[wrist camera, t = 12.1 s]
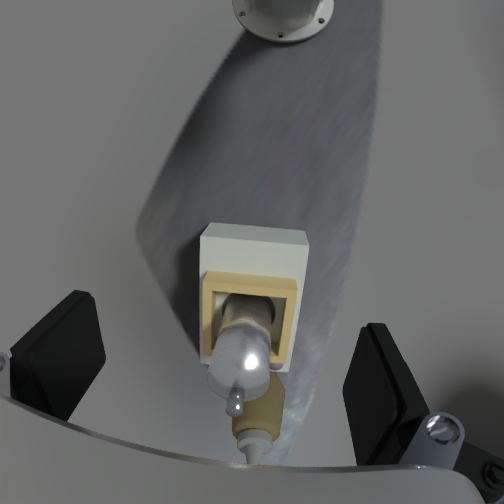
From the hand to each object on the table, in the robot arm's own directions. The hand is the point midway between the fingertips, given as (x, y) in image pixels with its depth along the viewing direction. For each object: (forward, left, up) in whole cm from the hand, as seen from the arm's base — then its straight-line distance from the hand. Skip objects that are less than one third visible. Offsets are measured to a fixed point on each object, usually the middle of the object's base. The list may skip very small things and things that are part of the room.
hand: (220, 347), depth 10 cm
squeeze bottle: (+29, +3, -31) cm, 42 cm away
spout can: (+13, 0, -24) cm, 27 cm away
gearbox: (+13, 0, -30) cm, 33 cm away
